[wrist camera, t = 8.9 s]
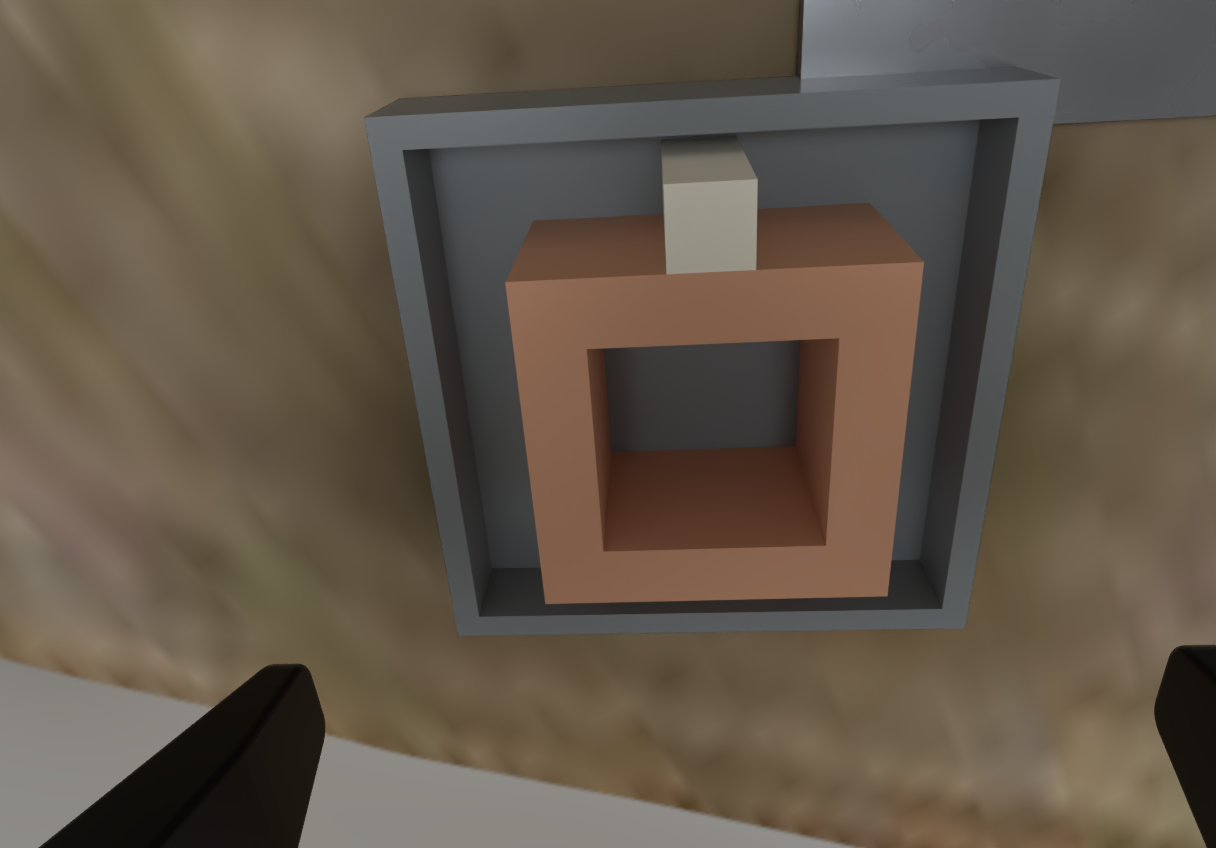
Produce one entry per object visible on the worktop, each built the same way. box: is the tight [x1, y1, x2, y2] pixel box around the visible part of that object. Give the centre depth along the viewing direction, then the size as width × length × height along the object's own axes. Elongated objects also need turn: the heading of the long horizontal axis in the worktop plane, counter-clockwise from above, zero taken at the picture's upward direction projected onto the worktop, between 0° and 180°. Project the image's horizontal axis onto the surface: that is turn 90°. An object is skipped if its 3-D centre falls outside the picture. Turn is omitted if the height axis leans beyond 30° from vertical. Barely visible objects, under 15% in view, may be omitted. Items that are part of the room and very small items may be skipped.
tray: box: [364, 67, 1061, 636], centre depth 19 cm, size 12×12×2 cm
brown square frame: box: [505, 135, 924, 604], centre depth 18 cm, size 8×7×4 cm
